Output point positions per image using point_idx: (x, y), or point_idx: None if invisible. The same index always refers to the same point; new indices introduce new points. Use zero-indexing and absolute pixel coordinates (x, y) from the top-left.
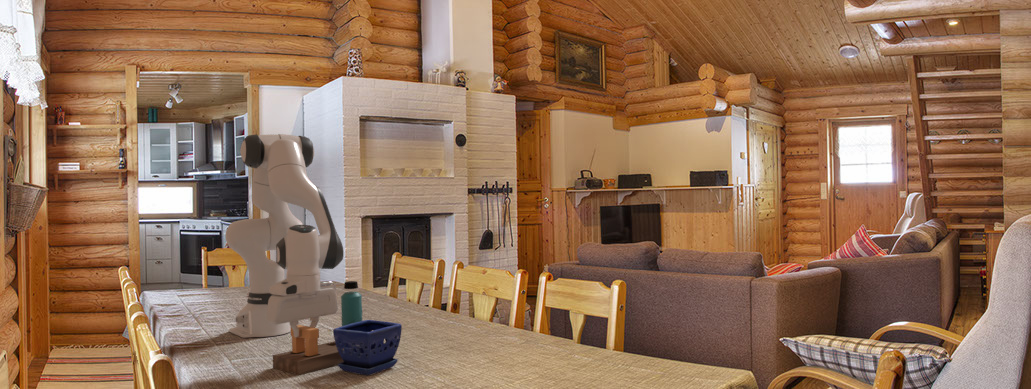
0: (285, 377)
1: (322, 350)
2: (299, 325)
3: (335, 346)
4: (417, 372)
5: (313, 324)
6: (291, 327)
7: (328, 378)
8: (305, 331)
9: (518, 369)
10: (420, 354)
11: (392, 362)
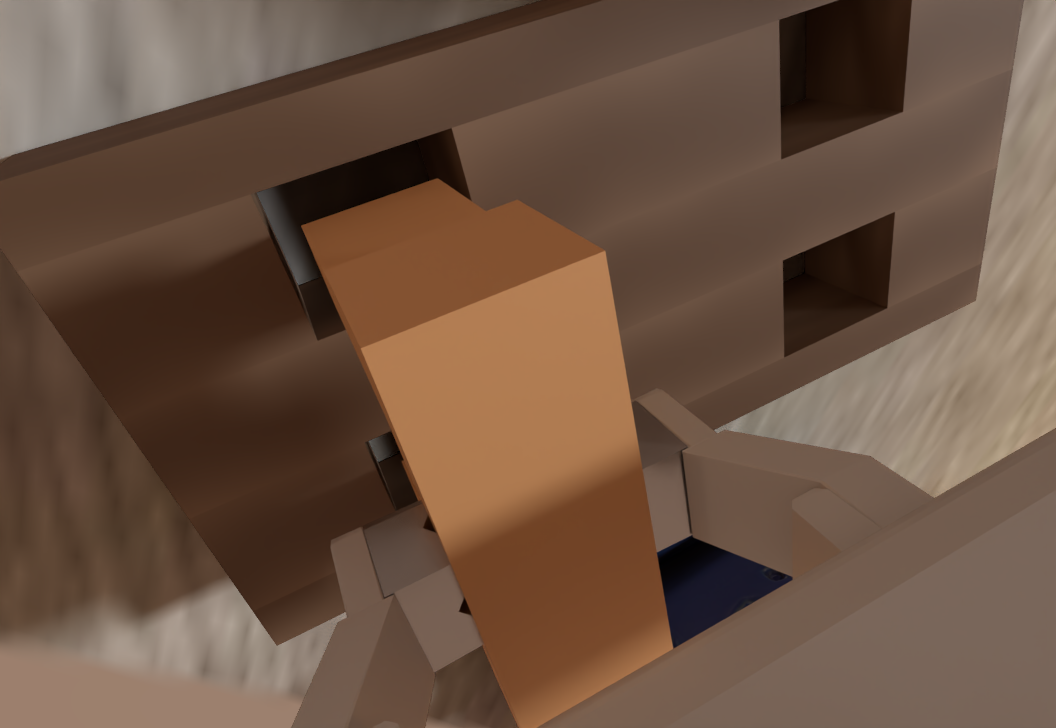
0: (134, 585)
1: (626, 304)
2: (580, 323)
3: (789, 199)
4: None
5: (743, 535)
6: (309, 695)
7: (435, 684)
8: (505, 695)
9: None
10: (1025, 381)
11: None
